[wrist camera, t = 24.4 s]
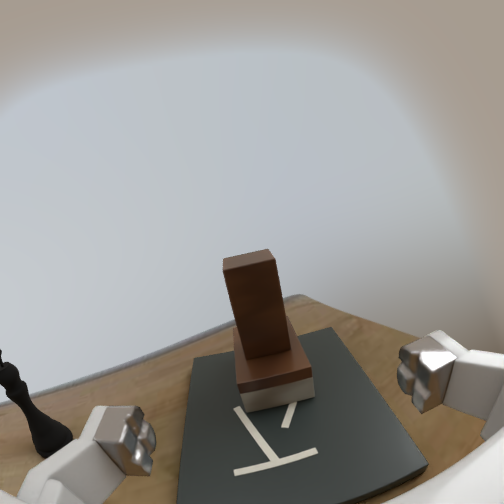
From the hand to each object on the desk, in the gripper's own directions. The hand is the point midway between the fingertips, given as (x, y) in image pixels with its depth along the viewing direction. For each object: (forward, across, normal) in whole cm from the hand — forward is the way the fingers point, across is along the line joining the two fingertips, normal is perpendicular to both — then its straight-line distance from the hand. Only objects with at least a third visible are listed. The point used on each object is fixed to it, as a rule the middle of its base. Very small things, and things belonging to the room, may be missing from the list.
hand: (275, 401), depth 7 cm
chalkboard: (+8, 0, +10) cm, 13 cm away
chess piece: (+6, +20, +10) cm, 23 cm away
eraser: (+12, 0, +9) cm, 15 cm away
